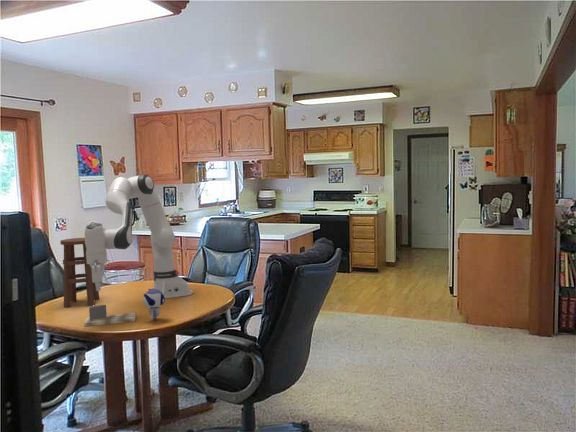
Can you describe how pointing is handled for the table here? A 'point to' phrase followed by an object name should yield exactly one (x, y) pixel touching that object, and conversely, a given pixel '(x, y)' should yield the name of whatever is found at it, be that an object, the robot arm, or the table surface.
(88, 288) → the stool
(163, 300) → the toy
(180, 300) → the table surface
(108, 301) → the table surface
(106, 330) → the table surface
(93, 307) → the block
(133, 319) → the board
